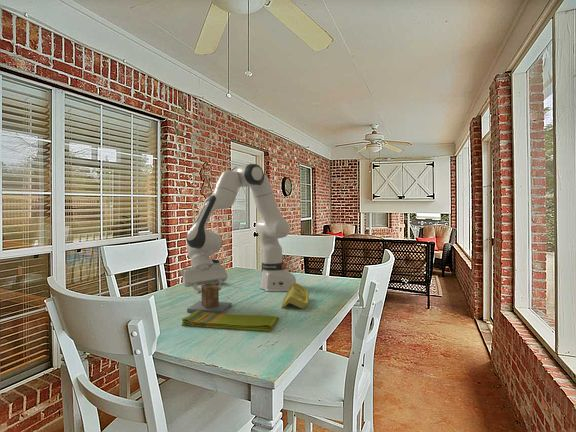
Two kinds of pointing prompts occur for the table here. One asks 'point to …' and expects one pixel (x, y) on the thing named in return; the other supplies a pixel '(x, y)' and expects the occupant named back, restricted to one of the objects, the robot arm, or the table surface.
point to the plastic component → (296, 296)
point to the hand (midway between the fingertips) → (209, 291)
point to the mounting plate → (219, 309)
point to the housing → (210, 295)
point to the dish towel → (230, 321)
